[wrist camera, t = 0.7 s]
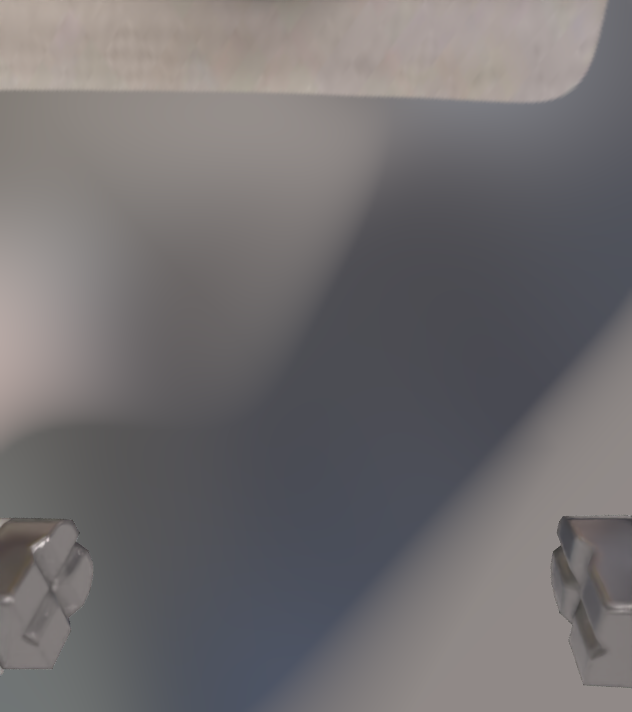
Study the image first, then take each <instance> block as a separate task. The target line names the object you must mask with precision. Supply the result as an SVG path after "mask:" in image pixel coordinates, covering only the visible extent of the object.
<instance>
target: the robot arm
mask: <svg viewBox="0 0 632 712" xmlns="http://www.w3.org/2000/svg"><path fill="white" fill-rule="evenodd" d="M79 533H80V532H79V531H78V529H77V527H76V525H75V523H74V521H73V520H68V519H41V518H0V675H1V674H2V673H3V672H4V671H3V669H53V666H54V664H55V662H56V660H57V658H58V656H59V654H60V652H61V650H62V648H63V646H64V644H65V642H66V640H67V638H68V636H69V634H70V632H71V627H70V621H69V617H70V616H71V615H72V614H74V613H75V612H76V611H77V610H78V609H80V608H81V607H82V606H83V605H84V603H85V601H86V598H87V596H88V594H89V592H90V589H91V584H92V579H93V573H94V572H93V564H92V559H91V556H90V554H89V552H88V550H87V549H85V548H84V547H83V546H81V545H80V544H78V543H77V542H76V540H77V538H78V536H79ZM557 535H558V537H559V540H560V543H561V546H560V547H558V548H557V549H556V550H554V551H553V555H552V561H551V578H552V587H553V592H554V597H555V600H556V603H557V606H558V609H559V613H560V614H561V615H563V617H565V618H566V619H567V620H568V621H569V622H570V623H571V624H572V629H571V633H570V637H569V643H570V646H571V649H572V652H573V655H574V658H575V661H576V664H577V667H578V670H579V673H580V676H581V679H582V682H583V685H589V686H606V687H623V688H632V516H628V515H608V516H606V515H605V516H563V517H562V518H561V520H560V521H559V525H558V529H557Z"/></svg>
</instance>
